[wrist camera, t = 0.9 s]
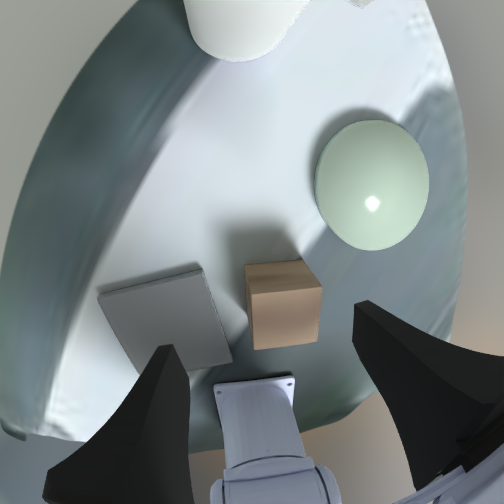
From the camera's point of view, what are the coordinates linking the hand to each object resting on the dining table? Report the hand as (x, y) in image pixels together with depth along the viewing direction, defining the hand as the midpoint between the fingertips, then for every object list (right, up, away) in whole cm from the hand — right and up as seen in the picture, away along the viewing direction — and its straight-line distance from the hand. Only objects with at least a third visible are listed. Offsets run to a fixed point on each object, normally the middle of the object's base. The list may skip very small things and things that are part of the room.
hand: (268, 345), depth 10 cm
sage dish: (+9, +9, +9) cm, 16 cm away
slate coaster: (-8, -3, +12) cm, 14 cm away
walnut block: (+1, +1, +12) cm, 12 cm away
